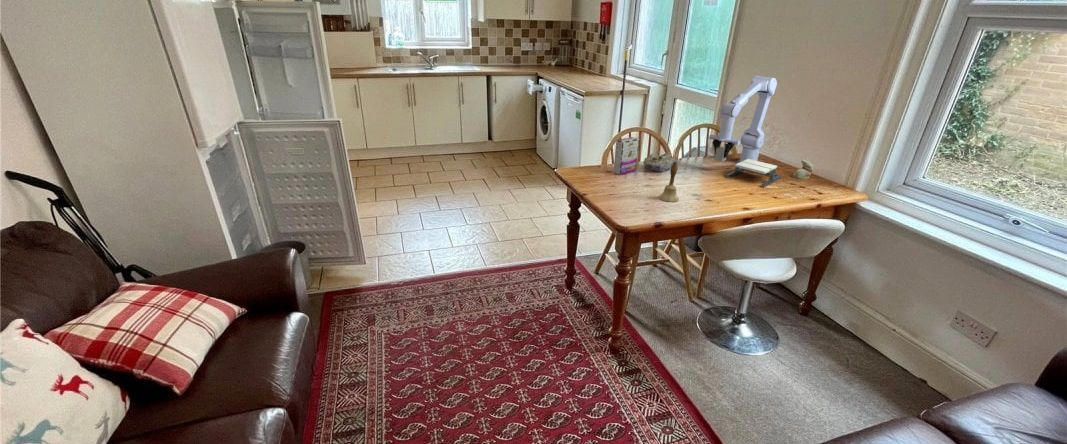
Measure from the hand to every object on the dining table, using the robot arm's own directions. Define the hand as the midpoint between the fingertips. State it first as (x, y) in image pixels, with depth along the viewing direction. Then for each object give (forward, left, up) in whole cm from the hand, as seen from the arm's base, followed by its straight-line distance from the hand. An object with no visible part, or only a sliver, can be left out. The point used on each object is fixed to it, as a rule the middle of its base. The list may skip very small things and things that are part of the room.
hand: (720, 156), depth 225 cm
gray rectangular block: (0, 0, -2) cm, 2 cm away
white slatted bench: (-4, +16, -8) cm, 18 cm away
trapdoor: (-4, +16, -2) cm, 17 cm away
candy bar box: (+38, -29, -8) cm, 49 cm away
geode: (+21, -21, -8) cm, 31 cm away
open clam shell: (-24, +31, -8) cm, 40 cm away
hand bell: (+51, +4, -8) cm, 52 cm away
